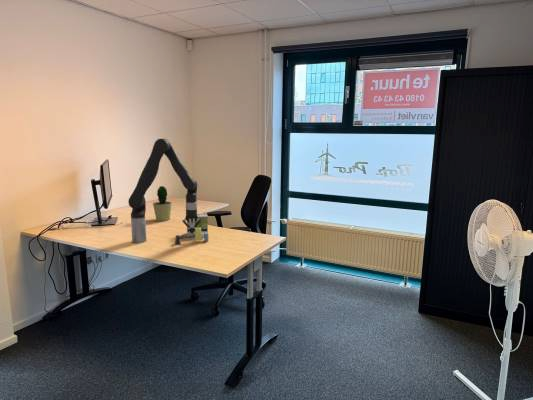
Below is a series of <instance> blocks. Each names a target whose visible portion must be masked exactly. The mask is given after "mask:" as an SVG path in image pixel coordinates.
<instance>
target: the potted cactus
mask: <svg viewBox="0 0 533 400" xmlns="http://www.w3.org/2000/svg"><path fill="white" fill-rule="evenodd" d="M168 195H169V194H168V190H167V188H166V187H165V186H163V185H160V186H158V187H157V190H156V197H157V200H158V201H156V202H155V201H154V202H153V203H152V206H153V211H154V214H155V215H154V216H155V220H156V221H157V222H168V220H169V221H170V220H171V215H172V214H171V212H172V205H173V204H172V203H173V202H171V201H167V198H168Z"/></svg>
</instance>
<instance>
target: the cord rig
mask: <svg viewBox="0 0 533 400" xmlns="http://www.w3.org/2000/svg"><path fill="white" fill-rule="evenodd" d="M194 238H195V235H187V234H186V235H179V234H177V235H176V234H175V241H174V243H175V245H176V246H179V245H182V244H181V241H180V240H186V239H194ZM203 240H204V242H205V243H208V242H209V231H208V232H204V233H203Z"/></svg>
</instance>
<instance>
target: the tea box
mask: <svg viewBox="0 0 533 400" xmlns="http://www.w3.org/2000/svg"><path fill="white" fill-rule="evenodd" d="M197 217H198V218H199V219H200V220H201V221H200V223H199V224H198V225H197V227H194V232H195V228H201V232H202V233H204V232H208V233H209V231H208V227H209V226H208V225H209V224H208V221H209V220H208V218H209V216H208V214H207V213H197ZM196 222H197V220H196ZM196 222H195V223H194V225H195V224H196ZM186 223H187V224H188V225H189V223H188V222H187V221H186ZM191 225H192V223H191ZM194 232H193V233H190V228H189V227H187V226H186V236H187V235H194Z"/></svg>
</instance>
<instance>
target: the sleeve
mask: <svg viewBox="0 0 533 400" xmlns="http://www.w3.org/2000/svg"><path fill="white" fill-rule="evenodd" d="M194 235H195V238H193V239H194V241H203V240H204V239H203V233H202V232H201V228H195V232H194Z"/></svg>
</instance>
